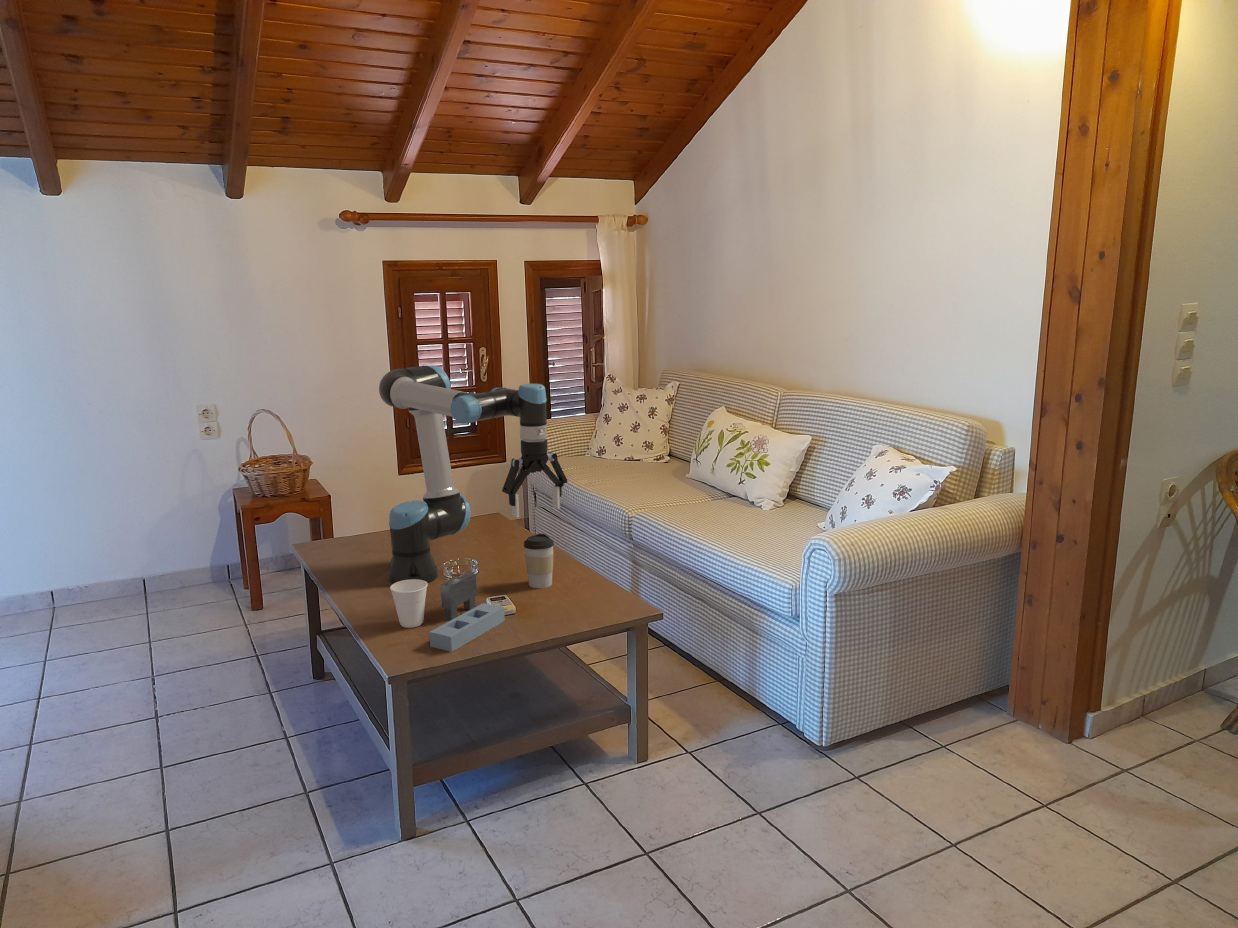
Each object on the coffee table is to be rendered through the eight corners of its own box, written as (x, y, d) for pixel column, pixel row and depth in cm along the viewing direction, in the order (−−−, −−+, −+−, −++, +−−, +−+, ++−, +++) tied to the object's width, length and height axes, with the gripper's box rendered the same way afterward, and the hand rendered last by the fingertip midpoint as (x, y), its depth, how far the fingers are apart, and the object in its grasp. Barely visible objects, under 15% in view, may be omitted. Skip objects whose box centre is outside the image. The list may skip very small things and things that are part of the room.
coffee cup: (550, 590, 263) (548, 542, 259) (521, 588, 264) (519, 540, 261) (558, 579, 271) (557, 532, 268) (530, 578, 273) (528, 531, 270)
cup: (396, 617, 244) (393, 580, 242) (432, 615, 245) (429, 578, 243) (390, 632, 235) (386, 593, 232) (428, 630, 235) (425, 591, 233)
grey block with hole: (430, 646, 225) (429, 631, 224) (484, 616, 244) (483, 602, 243) (451, 651, 222) (450, 636, 221) (504, 621, 240) (504, 607, 240)
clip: (442, 619, 242) (440, 584, 240) (469, 605, 252) (467, 572, 250) (451, 621, 241) (448, 586, 239) (477, 607, 251) (475, 573, 249)
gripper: (501, 447, 238) (504, 523, 243) (578, 435, 253) (579, 507, 258) (488, 443, 244) (491, 516, 249) (563, 431, 259) (565, 501, 263)
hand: (536, 512), depth 253 cm, fingers open, 13 cm apart
